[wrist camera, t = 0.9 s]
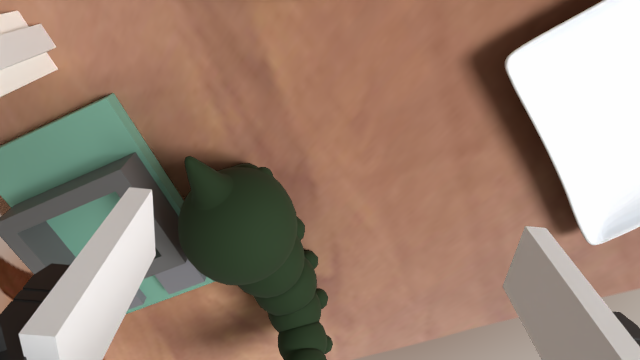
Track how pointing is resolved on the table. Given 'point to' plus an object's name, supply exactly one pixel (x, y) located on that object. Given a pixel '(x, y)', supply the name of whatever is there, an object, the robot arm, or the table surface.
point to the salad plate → (589, 111)
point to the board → (89, 195)
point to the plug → (22, 53)
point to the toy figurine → (255, 250)
